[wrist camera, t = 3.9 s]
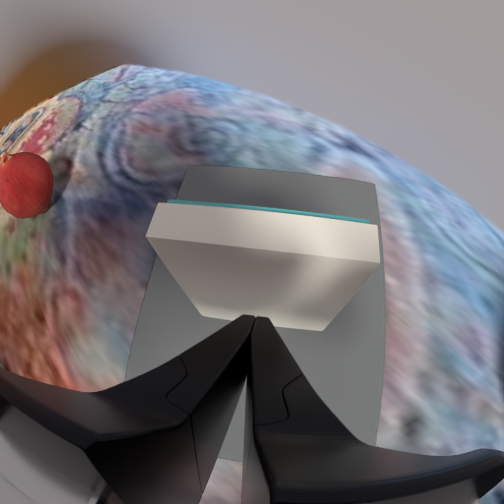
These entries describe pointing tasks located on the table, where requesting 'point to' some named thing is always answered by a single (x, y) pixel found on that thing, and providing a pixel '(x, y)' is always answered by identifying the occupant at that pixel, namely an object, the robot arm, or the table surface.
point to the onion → (25, 184)
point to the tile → (264, 260)
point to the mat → (297, 340)
